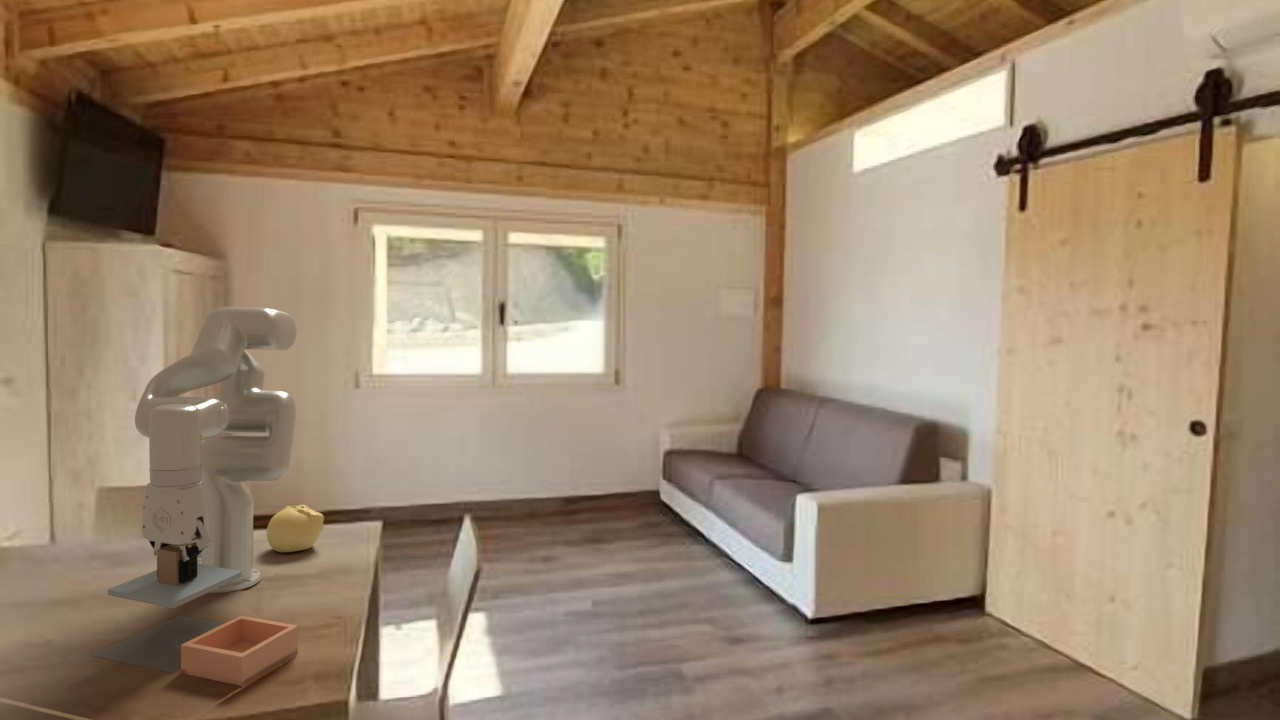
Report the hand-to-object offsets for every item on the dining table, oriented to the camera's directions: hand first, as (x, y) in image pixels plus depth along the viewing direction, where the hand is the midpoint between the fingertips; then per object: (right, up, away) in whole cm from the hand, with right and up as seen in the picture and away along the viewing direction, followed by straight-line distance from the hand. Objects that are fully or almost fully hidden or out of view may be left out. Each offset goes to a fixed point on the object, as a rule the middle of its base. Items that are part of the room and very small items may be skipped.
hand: (177, 577), depth 125 cm
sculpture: (-4, -9, +51) cm, 52 cm away
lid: (0, -2, 0) cm, 2 cm away
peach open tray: (+15, -13, -6) cm, 20 cm away
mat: (0, -12, 0) cm, 12 cm away
